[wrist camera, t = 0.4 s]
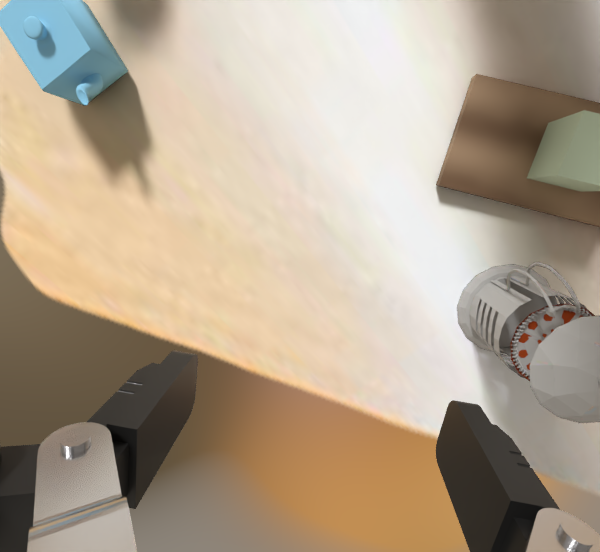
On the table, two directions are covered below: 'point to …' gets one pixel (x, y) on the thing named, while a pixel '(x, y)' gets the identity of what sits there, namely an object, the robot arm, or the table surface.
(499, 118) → the wooden board with post
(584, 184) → the cube
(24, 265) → the table surface
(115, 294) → the table surface
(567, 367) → the french press
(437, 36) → the table surface
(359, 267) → the table surface
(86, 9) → the teapot
